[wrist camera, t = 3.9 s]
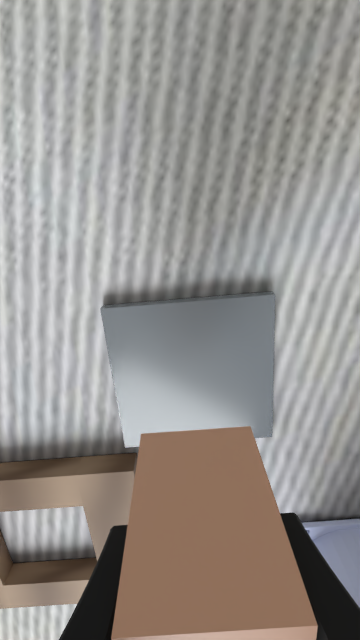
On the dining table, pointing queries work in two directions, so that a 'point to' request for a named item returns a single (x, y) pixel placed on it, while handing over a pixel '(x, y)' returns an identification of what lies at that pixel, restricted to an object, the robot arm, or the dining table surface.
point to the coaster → (192, 363)
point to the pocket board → (55, 492)
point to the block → (207, 545)
